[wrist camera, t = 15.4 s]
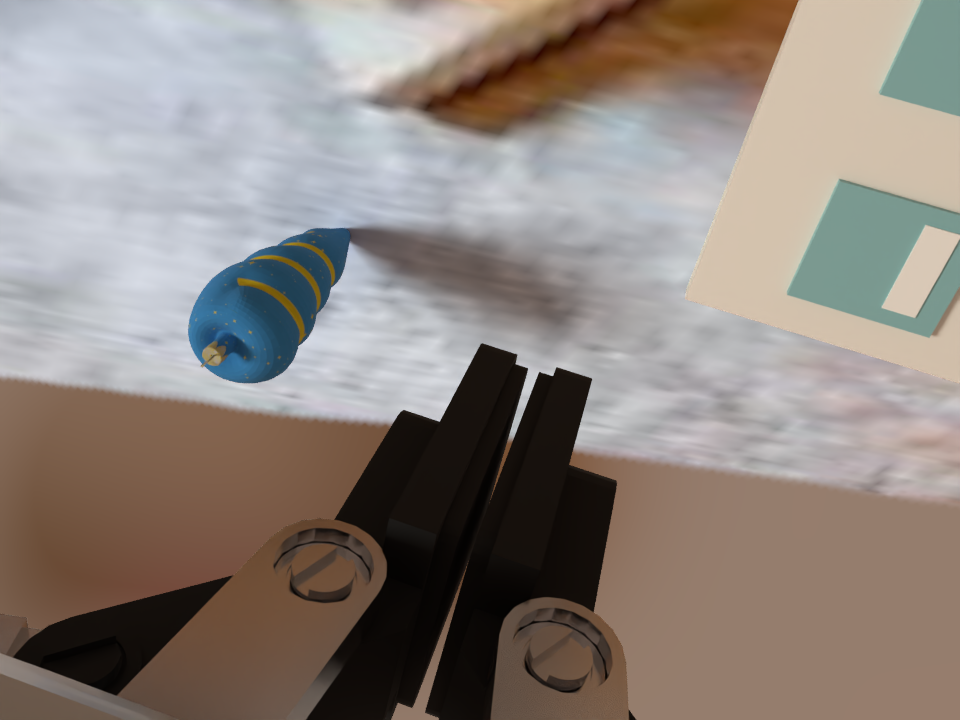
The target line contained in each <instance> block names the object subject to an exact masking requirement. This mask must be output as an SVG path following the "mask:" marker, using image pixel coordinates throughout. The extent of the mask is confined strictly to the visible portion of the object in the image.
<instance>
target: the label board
mask: <svg viewBox="0 0 960 720" xmlns="http://www.w3.org/2000/svg"><path fill="white" fill-rule="evenodd" d="M685 299H686V300H690V301H693V302H696V303H699V304H703V305H706V306H709V307H712V308H716V309H719V310H722V311H725V312H729V313H732V314H735V315H738V316H742V317H745V318H748V319H752V320H755V321H758V322H761V323H765V324H768V325H771V326H774V327H778V328H781V329H784V330H787V331H791V332H794V333H797V334H800V335H804V336H807V337H810V338H813V339H817V340H820V341H823V342H826V343H830V344H833V345H836V346H839V347H843V348H846V349H849V350H852V351H856V352H859V353H862V354H865V355H869V356H872V357H875V358H878V359H882V360H885V361H888V362H891V363H895V364H898V365H901V366H904V367H908V368H911V369H914V370H917V371H921V372H924V373H927V374H930V375H934V376H937V377H940V378H943V379H947V380H950V381H953V382H956V383H960V0H799V1H798V3H797V6H796V8H795V11H794V14H793V16H792V19H791V21H790V24H789V26H788V29H787V32H786V34H785V37H784V39H783V42H782V44H781V47H780V50H779V52H778V55H777V57H776V60H775V62H774V65H773V68H772V70H771V73H770V75H769V78H768V80H767V83H766V86H765V88H764V91H763V93H762V96H761V98H760V101H759V104H758V106H757V109H756V111H755V114H754V116H753V119H752V122H751V124H750V127H749V129H748V132H747V134H746V137H745V140H744V142H743V145H742V147H741V150H740V152H739V155H738V158H737V160H736V163H735V165H734V168H733V170H732V173H731V175H730V178H729V181H728V183H727V186H726V188H725V191H724V193H723V196H722V199H721V201H720V204H719V206H718V209H717V211H716V214H715V217H714V219H713V222H712V224H711V227H710V229H709V232H708V235H707V237H706V240H705V242H704V245H703V247H702V250H701V253H700V255H699V258H698V260H697V263H696V265H695V268H694V271H693V273H692V276H691V278H690V281H689V283H688V286H687V289H686V296H685Z"/></svg>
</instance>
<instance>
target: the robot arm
mask: <svg viewBox="0 0 960 720" xmlns="http://www.w3.org/2000/svg"><path fill="white" fill-rule="evenodd" d="M516 359H517V354H514V353H511V352H508V351H504V350H501V349H498V348H495V347H492V346H489V345H486V344H483V343H482V344H481V345H480V347H479V348H478V350H477V352H476V354H475V356H474V358H473V360H472V362H471V364H470V366H469V367H468V369H467V371H466V373H465V375H464V377H463V379H462V381H461V383H460V385H459V386H458V388H457V390H456V392H455V394H454V396H453V398H452V400H451V402H450V404H449V405H448V407H447V409H446V411H445V413H444V415H443V417H442V419H441V421H440V422H438V421H435V420H432V419H429V418H426V417H423V416H420V415H417V414H414V413H411V412H408V411H405V410H403V411H401V412H400V414H399V415H398V416H397V418H396V420H395V421H394V423H393V424H392V426H391V428H390V429H389V431H388V433H387V434H386V436H385V438H384V439H383V441H382V443H381V444H380V446H379V447H378V449H377V451H376V452H375V454H374V456H373V457H372V459H371V461H370V462H369V464H368V465H367V467H366V469H365V470H364V472H363V474H362V475H361V477H360V479H359V480H358V482H357V483H356V485H355V487H354V488H353V490H352V492H351V493H350V495H349V497H348V498H347V500H346V502H345V503H344V505H343V507H342V508H341V510H340V511H339V513H338V515H337V516H336V518H335V520H331V519H321V518H320V519H311V520H302V521H299V522H296V523H294V524H291V525H288V526H286V527H284V528H283V529H281V530H280V531H279V532H277V533H276V534H274V535H273V536H272V537H271V538H270V539H269V540H268V541H267V542H266V543H265V544H264V545H263V546H262V547H261V548H260V549H259V550H258V551H257V552H256V553H255V554H254V555H253V556H252V557H251V558H250V559H249V560H248V561H247V562H246V563H245V564H244V565H243V566H242V568H241V569H239V571H238V572H237V573H236V574H235V575H233V576H229V577H225V578H221V579H217V580H213V581H210V582H206V583H202V584H198V585H194V586H190V587H187V588H183V589H179V590H175V591H171V592H167V593H163V594H159V595H155V596H151V597H148V598H144V599H140V600H136V601H132V602H128V603H125V604H120V605H117V606H113V607H109V608H105V609H101V610H97V611H93V612H89V613H86V614H82V615H78V616H74V617H70V618H68V619H65V620H63V621H60V622H57V623H55V624H52V625H49V626H48V627H46V628H45V629H43V630H40V629H34V628H28V623H27V618H26V617H19V616H12V615H5V614H0V720H391V718H392V716H393V713H394V711H395V708H396V706H397V703H400V704H403V705H406V706H408V707H411V708H412V707H413V705H414V703H415V700H416V698H417V695H418V693H419V690H420V687H421V685H422V682H423V680H424V677H425V674H426V671H427V669H428V666H429V664H430V661H431V658H432V656H433V653H434V651H435V648H436V645H437V642H438V640H439V637H440V635H441V632H442V629H443V627H444V624H445V621H446V619H447V616H448V614H449V611H450V608H451V606H452V603H453V600H454V598H455V595H456V592H457V590H458V587H459V584H460V582H461V579H462V576H463V574H464V571H465V569H466V572H465V575H464V579H463V583H462V586H461V589H460V593H459V596H458V600H457V603H456V606H455V610H454V613H453V617H452V620H451V624H450V628H449V631H448V634H447V638H446V641H445V645H444V648H443V652H442V655H441V659H440V662H439V665H438V669H437V672H436V676H435V679H434V683H433V686H432V690H431V693H430V697H429V700H428V704H427V707H426V711H425V713H427V714H430V715H433V716H435V717H438V718H439V720H636V719H635V717H634V716H633V715H632V713H631V712H630V711H629V709H628V692H627V672H626V661H625V656H624V652H623V647H622V645H621V643H620V641H619V640H618V638H617V636H616V635H615V633H614V631H613V630H612V629H611V628H610V627H609V626H608V624H606V622H604V620H603V619H602V618H601V617H600V616H598V615H597V614H595V613H594V607H595V602H596V596H597V591H598V585H599V580H600V574H601V569H602V563H603V558H604V552H605V547H606V542H607V536H608V530H609V525H610V520H611V515H612V509H613V504H614V498H615V493H616V486H617V482H616V480H612V479H610V478H607V477H604V476H601V475H598V474H595V473H592V472H589V471H585V470H583V469H580V468H577V467H574V466H571V465H569V463H570V459H571V455H572V452H573V448H574V444H575V441H576V437H577V433H578V430H579V426H580V422H581V418H582V415H583V411H584V407H585V404H586V400H587V396H588V393H589V389H590V385H591V381H592V378H589V377H585V376H582V375H579V374H576V373H573V372H570V371H567V370H564V369H561V368H557V367H556V370H555V373H554V376H550V375H547V374H544V373H541V372H539V374H538V377H537V379H536V382H535V385H534V387H533V390H532V392H531V395H530V398H529V400H528V403H527V406H526V408H525V411H524V413H523V416H522V419H521V421H520V424H519V427H518V429H517V432H516V434H515V437H514V440H513V442H512V445H511V448H510V450H509V453H508V456H507V458H506V461H505V463H504V466H503V469H502V472H501V474H500V477H499V479H498V482H497V484H496V487H495V490H494V492H493V488H494V485H495V482H496V478H497V475H498V471H499V468H500V464H501V461H502V457H503V454H504V450H505V447H506V444H507V440H508V437H509V434H510V430H511V427H512V423H513V420H514V416H515V413H516V410H517V406H518V403H519V399H520V396H521V392H522V389H523V386H524V382H525V379H526V375H527V371H528V368H525V367H522V366H519V365H516V364H515V363H516ZM492 492H493V495H492ZM491 495H492V498H491ZM490 499H491V500H490ZM489 502H490V503H489ZM468 561H469V562H468ZM467 563H468V565H467ZM466 566H467V568H466Z"/></svg>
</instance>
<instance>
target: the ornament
mask: <svg viewBox="0 0 960 720" xmlns="http://www.w3.org/2000/svg"><path fill="white" fill-rule="evenodd" d="M349 242H350V232H349V231H348V230H347V229H345V228H336V229H327V228H316V229H310V230H308V231H306V232H305V233H303V234H300V235H296V236H293V237H290V238H288V239H286V240H284V241H283V242H281V243H280V244H278V245H277V246H271V247H268V248H265V249H262V250H259V251H257V252H255V253H254V254H252V255H250V256H249V257H248V258H247V259H245V260H244V261H243V262H240V263H237V264H235V265H232V266H230V267H228V268H226V269H225V270H223V271H222V272H220V273H219V274H218V275H216V276H215V277H214V278H213V279H212V280H211V281H210V282H209V283H208V284H207V285H206V287H205V288H204V289H203V291H202V292H201V294H200V295H199V297H198V299H197V301H196V303H195V305H194V307H193V310H192V313H191V316H190V320H189V328H188V335H189V341H190V344H191V347H192V349H193V351H194V353H195V355H196V356H197V358H198V359H199V361H200V362H201V363H202V365H201V367H204V366H205V367H206V368H207V369H208V370H210V371H211V372H212V373H214V374H215V375H217V376H219V377H221V378H223V379H226V380H229V381H233V382H237V383H258V382H263V381H267V380H270V379H272V378H274V377H276V376H278V375H279V374H281V373H283V372H284V371H285V370H286V369H287V368H288V366H289V365H290V364H291V363H292V361H293V359H294V357H295V355H296V352H297V349H298V346H299V345H300V344H302V343H303V342H304V341H305V340H306V339H307V338H308V336H309V335H310V333H311V332H312V330H313V327H314V324H315V320H316V314H317V313H318V312H319V311H320V310H321V309H322V308H323V307H324V305H325V304H326V302H327V300H328V297H329V294H330V289H331V287H333V286H334V285H335V284H336V283H337V282H338V280H339V279H340V277H341V275H342V273H343V270H344V267H345V263H346V257H347V252H348V247H349Z"/></svg>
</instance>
